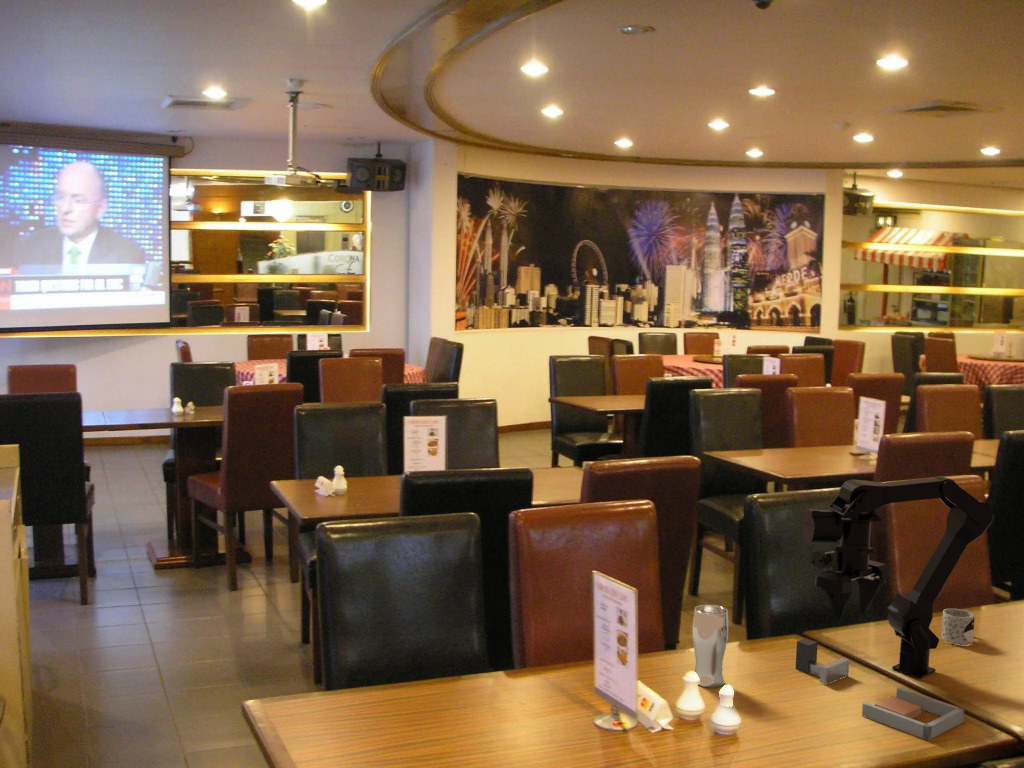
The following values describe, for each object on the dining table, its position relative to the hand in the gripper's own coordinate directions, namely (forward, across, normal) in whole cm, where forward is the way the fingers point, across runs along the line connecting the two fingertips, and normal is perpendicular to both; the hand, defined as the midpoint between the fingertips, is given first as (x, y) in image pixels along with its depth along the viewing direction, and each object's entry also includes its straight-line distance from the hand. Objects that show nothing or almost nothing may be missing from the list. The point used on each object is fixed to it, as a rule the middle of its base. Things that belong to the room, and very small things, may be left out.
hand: (850, 615), depth 213 cm
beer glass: (+12, +28, -14) cm, 34 cm away
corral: (+12, +11, +20) cm, 26 cm away
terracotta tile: (+12, +11, +17) cm, 24 cm away
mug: (+12, -39, +4) cm, 41 cm away
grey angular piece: (+12, +6, -3) cm, 14 cm away
